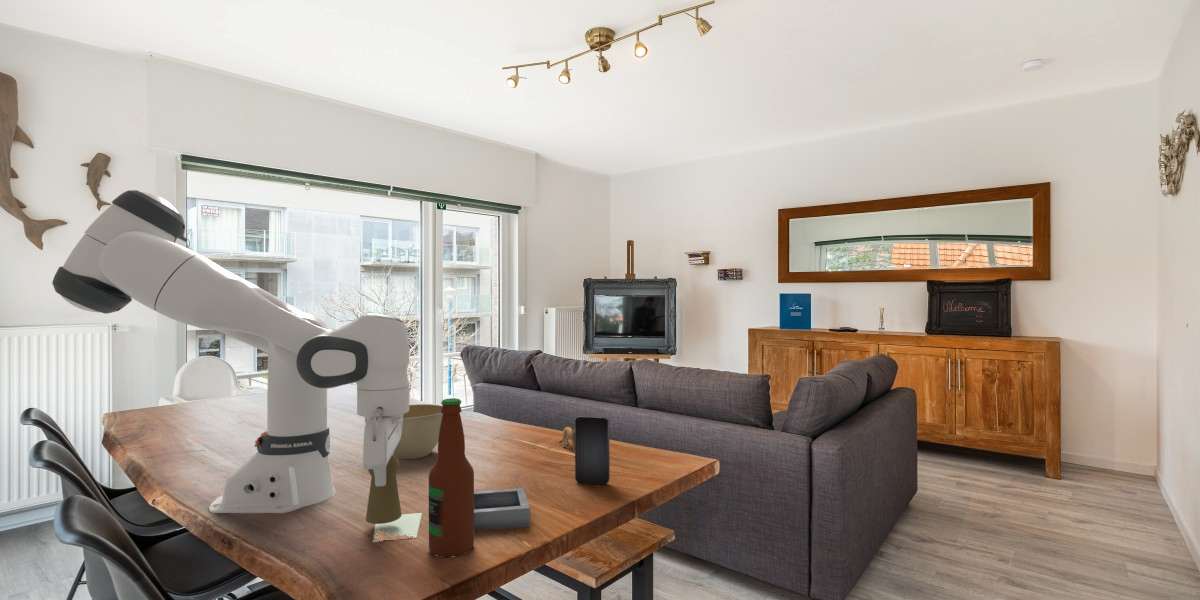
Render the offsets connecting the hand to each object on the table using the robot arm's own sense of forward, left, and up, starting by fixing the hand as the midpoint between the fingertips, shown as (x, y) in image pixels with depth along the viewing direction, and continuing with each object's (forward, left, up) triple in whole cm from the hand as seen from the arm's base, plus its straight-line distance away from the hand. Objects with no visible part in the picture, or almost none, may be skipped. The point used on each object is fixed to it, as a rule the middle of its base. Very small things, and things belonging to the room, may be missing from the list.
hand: (383, 479), depth 102 cm
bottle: (+12, -11, -9) cm, 19 cm away
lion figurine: (+43, +48, -9) cm, 65 cm away
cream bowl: (0, +50, -9) cm, 51 cm away
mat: (0, 0, -9) cm, 9 cm away
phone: (+42, +17, -9) cm, 46 cm away
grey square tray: (+20, +1, -9) cm, 22 cm away
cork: (0, 0, -7) cm, 7 cm away
